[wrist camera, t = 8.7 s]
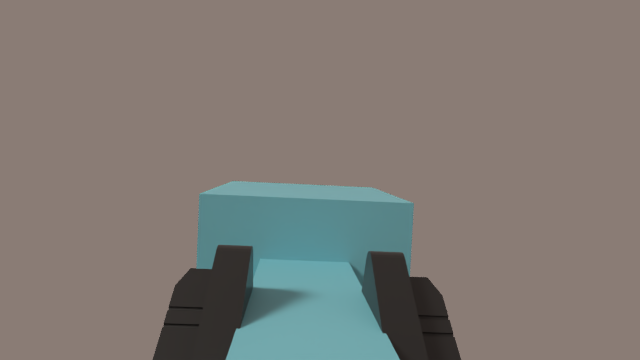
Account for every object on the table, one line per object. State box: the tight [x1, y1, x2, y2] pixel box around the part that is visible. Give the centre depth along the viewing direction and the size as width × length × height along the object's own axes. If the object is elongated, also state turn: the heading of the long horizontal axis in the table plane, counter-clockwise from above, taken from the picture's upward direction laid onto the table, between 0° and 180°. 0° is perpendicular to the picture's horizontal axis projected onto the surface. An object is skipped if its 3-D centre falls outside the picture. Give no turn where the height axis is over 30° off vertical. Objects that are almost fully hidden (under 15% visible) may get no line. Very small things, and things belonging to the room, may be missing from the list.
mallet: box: [197, 181, 414, 360], centre depth 14 cm, size 6×18×5 cm, turn 3°
